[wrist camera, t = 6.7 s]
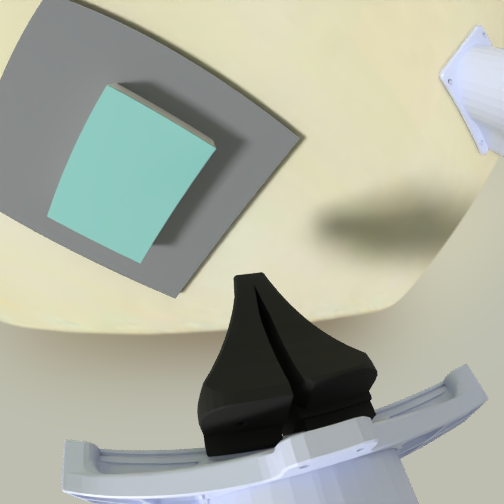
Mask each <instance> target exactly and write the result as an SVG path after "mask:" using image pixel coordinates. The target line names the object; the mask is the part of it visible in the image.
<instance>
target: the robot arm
mask: <svg viewBox="0 0 504 504" xmlns="http://www.w3.org/2000/svg"><path fill="white" fill-rule="evenodd" d="M440 79H441V81H442V83H443V84H444V86H445V88H446V89H447V91H448V92H449V94H450V96H451V98H452V99H453V101H454V103H455V104H456V106H457V108H458V110H459V112H460V113H461V115H462V117H463V119H464V121H465V123H466V125H467V127H468V129H469V131H470V133H471V135H472V137H473V139H474V141H475V143H476V145H477V147H478V150H479V152H480V153H481V154H482V155H485V154H486V153H487V152H488V150H489V149H490V150H492V151H494V152H496V153H497V154H499V155H501V156H503V157H504V49H503V48H498V47H493V45H492V43H491V41H490V40H489V38H488V36H487V34H486V32H485V30H484V28H483V27H482V26H481V25H476V26H475V27H474V29H473V30H472V31H471V33H470V34H469V35H468V37H467V38H466V39H465V41H464V42H463V43H462V45H461V46H460V47H459V49H458V50H457V51H456V52H455V54H454V55H453V56H452V58H451V59H450V60H449V62H448V63H447V64H446V65H445V67H444V68H443V69H442V71H441V72H440ZM448 80H449V83H448ZM234 295H235V298H234V305H233V311H232V316H231V320H230V324H229V328H228V331H227V334H226V337H225V340H224V343H223V345H222V348H221V350H220V353H219V355H218V357H217V359H216V361H215V363H214V365H213V367H212V369H211V371H210V373H209V374H208V376H207V378H206V379H205V381H204V383H203V386H202V389H201V393H200V397H199V401H198V420H199V425H200V427H201V430H202V432H203V435H204V441H205V448H195V449H180V450H148V451H147V450H146V451H145V450H143V451H142V450H135V451H134V450H109V449H99V448H98V447H97V446H96V445H95V444H93V443H90V442H86V441H75V440H65V441H64V453H63V468H62V491H63V492H65V493H67V494H70V495H72V496H75V497H77V498H80V499H82V500H85V501H88V502H90V503H97V504H419V503H418V501H417V498H416V496H415V493H414V491H413V488H412V486H411V484H410V481H409V479H408V476H407V474H406V472H405V469H404V467H403V465H402V463H401V460H400V459H401V458H402V457H404V456H406V455H408V454H410V453H412V452H414V451H416V450H418V449H419V448H421V447H423V446H425V445H427V444H428V443H430V442H432V441H433V440H435V439H437V438H438V437H440V436H442V435H443V434H445V433H447V432H448V431H450V430H452V429H453V428H455V427H456V426H458V425H460V424H461V423H463V422H464V421H465V420H467V418H469V417H470V416H471V415H472V414H473V413H474V412H475V411H476V410H478V409H479V408H480V407H481V406H482V405H483V404H484V403H485V402H486V401H487V400H488V397H487V395H486V393H485V392H484V390H483V388H482V387H481V385H480V384H479V382H478V381H477V379H476V377H475V376H474V374H473V373H472V371H471V370H470V368H469V367H468V365H467V364H465V365H463V366H461V367H459V368H457V369H455V370H453V371H451V372H450V373H449V374H448V375H447V376H446V377H445V379H444V381H442V382H440V383H438V384H436V385H434V386H432V387H430V388H428V389H425V390H424V391H421V392H419V393H416V394H414V395H412V396H409V397H407V398H405V399H403V400H400V401H397V402H395V403H392V404H390V405H387V406H384V407H382V408H379V409H376V410H374V408H373V406H372V404H371V402H370V400H371V395H370V392H369V390H370V388H371V386H372V385H373V383H374V381H375V380H376V377H377V370H376V369H375V367H374V365H373V363H372V361H371V360H370V358H369V357H368V356H367V354H366V353H364V352H362V351H359V350H357V349H354V348H352V347H350V346H347V345H345V344H344V343H342V342H340V341H338V340H336V339H334V338H333V337H331V336H330V335H328V334H326V333H325V332H323V331H322V330H320V329H319V328H317V327H316V326H314V325H313V324H312V323H311V322H309V321H308V320H307V319H306V318H304V317H303V316H302V315H301V314H300V313H299V312H298V311H297V310H296V309H294V308H293V307H292V306H291V305H290V304H289V303H288V302H287V301H286V299H285V298H284V297H283V296H282V295H281V294H280V293H279V292H278V291H277V290H276V288H275V287H274V286H273V285H272V284H271V282H270V281H269V280H268V278H267V277H266V276H265V274H264V273H262V272H261V273H253V274H244V275H236V276H235V277H234ZM282 434H283V436H282Z"/></svg>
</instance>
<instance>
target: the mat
mask: <svg viewBox="0 0 504 504" xmlns="http://www.w3.org/2000/svg"><path fill="white" fill-rule="evenodd" d="M115 83H117V84H119V85H121V86H123V87H125V88H126V89H128V90H130V91H132V92H134V93H136V94H137V95H139V96H141V97H143V98H144V99H146V100H148V101H150V102H151V103H153V104H155V105H157V106H158V107H160V108H162V109H164V110H165V111H167V112H169V113H170V114H172V115H174V116H175V117H177V118H179V119H180V120H182V121H184V122H185V123H187V124H189V125H190V126H192V127H193V128H195V129H197V130H198V131H200V132H201V133H203V134H205V135H206V136H208V137H209V138H211V139H213V141H214V144H215V147H216V150H215V151H214V152H213V154H212V155H211V157H210V158H209V159H208V161H207V162H206V163H205V165H204V166H203V168H202V169H201V171H200V172H199V173H198V175H197V176H196V178H195V179H194V181H193V182H192V183H191V185H190V186H189V188H188V189H187V191H186V192H185V194H184V195H183V197H182V198H181V200H180V201H179V203H178V204H177V206H176V207H175V209H174V210H173V212H172V213H171V215H170V216H169V218H168V220H167V221H166V223H165V224H164V226H163V227H162V229H161V231H160V232H159V234H158V235H157V237H156V239H155V240H154V242H153V243H152V245H151V247H150V248H149V250H148V252H147V253H146V255H145V257H144V258H143V260H142V262H141V263H138V262H136V261H134V260H132V259H130V258H128V257H126V256H124V255H121V254H119V253H117V252H115V251H113V250H111V249H109V248H107V247H105V246H103V245H101V244H99V243H97V242H95V241H93V240H91V239H89V238H87V237H85V236H83V235H81V234H79V233H77V232H75V231H74V230H72V229H70V228H68V227H66V226H64V225H62V224H60V223H58V222H56V221H55V220H53V219H51V218H49V217H47V215H48V212H49V209H50V206H51V203H52V200H53V198H54V195H55V192H56V189H57V187H58V184H59V182H60V179H61V177H62V174H63V172H64V169H65V167H66V164H67V162H68V160H69V158H70V155H71V153H72V151H73V149H74V146H75V144H76V142H77V140H78V138H79V136H80V134H81V132H82V130H83V128H84V126H85V124H86V122H87V120H88V118H89V116H90V114H91V112H92V110H93V109H94V107H95V105H96V103H97V101H98V100H99V98H100V96H101V94H102V93H103V91H104V89H105V87H106V86H107V85H110V84H115ZM299 139H300V138H299V137H298V136H297V135H295V134H294V133H293V132H292V131H290V130H289V129H288V128H286V127H285V126H284V125H283V124H281V123H280V122H279V121H277V120H276V119H275V118H274V117H272V116H271V115H270V114H268V113H267V112H266V111H264V110H263V109H262V108H260V107H259V106H257V105H256V104H255V103H253V102H252V101H251V100H249V99H248V98H246V97H245V96H244V95H242V94H241V93H239V92H238V91H236V90H235V89H233V88H232V87H231V86H229V85H228V84H226V83H225V82H223V81H222V80H220V79H219V78H217V77H216V76H214V75H212V74H211V73H209V72H208V71H206V70H205V69H203V68H201V67H200V66H198V65H197V64H195V63H193V62H192V61H190V60H189V59H187V58H185V57H184V56H182V55H180V54H178V53H177V52H175V51H173V50H172V49H170V48H168V47H166V46H165V45H163V44H161V43H159V42H157V41H156V40H154V39H152V38H150V37H148V36H146V35H144V34H142V33H140V32H139V31H137V30H135V29H133V28H131V27H129V26H127V25H125V24H123V23H121V22H118V21H116V20H114V19H112V18H110V17H108V16H106V15H103V14H101V13H99V12H97V11H94V10H92V9H90V8H87V7H85V6H82V5H80V4H77V3H75V2H72V1H70V0H43V1H42V2H41V4H40V5H39V7H38V8H37V10H36V11H35V13H34V15H33V16H32V18H31V20H30V21H29V23H28V25H27V27H26V28H25V30H24V32H23V34H22V36H21V37H20V39H19V41H18V43H17V45H16V47H15V49H14V51H13V53H12V55H11V57H10V59H9V61H8V64H7V66H6V68H5V70H4V73H3V75H2V77H1V80H0V212H2V213H4V214H5V215H7V216H9V217H10V218H12V219H14V220H16V221H17V222H19V223H21V224H23V225H25V226H26V227H28V228H30V229H32V230H34V231H35V232H37V233H39V234H41V235H43V236H45V237H47V238H48V239H50V240H52V241H54V242H56V243H58V244H60V245H62V246H64V247H66V248H68V249H70V250H72V251H73V252H75V253H77V254H79V255H81V256H83V257H86V258H88V259H90V260H92V261H94V262H96V263H98V264H100V265H102V266H104V267H106V268H108V269H110V270H113V271H115V272H117V273H119V274H121V275H123V276H125V277H128V278H130V279H132V280H134V281H136V282H139V283H141V284H143V285H145V286H148V287H150V288H152V289H155V290H157V291H159V292H161V293H164V294H166V295H168V296H171V297H173V298H176V297H177V296H178V294H179V293H180V291H181V290H182V289H183V287H184V286H185V285H186V283H187V282H188V281H189V279H190V278H191V277H192V275H193V274H194V273H195V271H196V270H197V269H198V267H199V266H200V265H201V263H202V262H203V261H204V259H205V258H206V257H207V255H208V254H209V253H210V252H211V250H212V249H213V248H214V246H215V245H216V244H217V242H218V241H219V240H220V238H221V237H222V236H223V235H224V233H225V232H226V231H227V229H228V228H229V227H230V226H231V224H232V223H233V222H234V220H235V219H236V218H237V217H238V215H239V214H240V213H241V211H242V210H243V209H244V208H245V206H246V205H247V204H248V203H249V201H250V200H251V199H252V197H253V196H254V195H255V194H256V192H257V191H258V190H259V189H260V187H261V186H262V185H263V184H264V182H265V181H266V180H267V179H268V177H269V176H270V175H271V174H272V172H273V171H274V170H275V169H276V167H277V166H278V165H279V164H280V163H281V161H282V160H283V159H284V158H285V156H286V155H287V154H288V153H289V152H290V150H291V149H292V148H293V147H294V145H295V144H296V143H297V142H298V141H299Z"/></svg>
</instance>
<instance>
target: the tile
mask: <svg viewBox="0 0 504 504" xmlns="http://www.w3.org/2000/svg"><path fill="white" fill-rule="evenodd" d="M215 150H216V147H215V144H214V141H213V139H211V138H209V137H208V136H206V135H205V134H203V133H201V132H200V131H198V130H197V129H195V128H193V127H192V126H190V125H189V124H187V123H185V122H184V121H182V120H180V119H179V118H177V117H175V116H174V115H172V114H170V113H169V112H167V111H165V110H164V109H162V108H160V107H158V106H157V105H155V104H153V103H151V102H150V101H148V100H146V99H144V98H143V97H141V96H139V95H137V94H136V93H134V92H132V91H130V90H128V89H126V88H125V87H123V86H121V85H119V84H117V83H115V84H110V85H107V86H106V87H105V89H104V91H103V93H102V94H101V96H100V98H99V100H98V101H97V103H96V105H95V107H94V109H93V110H92V112H91V114H90V116H89V118H88V120H87V122H86V124H85V126H84V128H83V130H82V132H81V134H80V136H79V138H78V140H77V142H76V144H75V146H74V149H73V151H72V153H71V155H70V158H69V160H68V162H67V164H66V167H65V169H64V172H63V174H62V177H61V179H60V182H59V184H58V187H57V189H56V192H55V195H54V198H53V200H52V203H51V206H50V209H49V212H48V215H47V217H49V218H51V219H53V220H55V221H56V222H58V223H60V224H62V225H64V226H66V227H68V228H70V229H72V230H74V231H75V232H77V233H79V234H81V235H83V236H85V237H87V238H89V239H91V240H93V241H95V242H97V243H99V244H101V245H103V246H105V247H107V248H109V249H111V250H113V251H115V252H117V253H119V254H121V255H124V256H126V257H128V258H130V259H132V260H134V261H136V262H138V263H141V262H142V260H143V258H144V257H145V255H146V253H147V252H148V250H149V248H150V247H151V245H152V243H153V242H154V240H155V239H156V237H157V235H158V234H159V232H160V231H161V229H162V227H163V226H164V224H165V223H166V221H167V220H168V218H169V216H170V215H171V213H172V212H173V210H174V209H175V207H176V206H177V204H178V203H179V201H180V200H181V198H182V197H183V195H184V194H185V192H186V191H187V189H188V188H189V186H190V185H191V183H192V182H193V181H194V179H195V178H196V176H197V175H198V173H199V172H200V171H201V169H202V168H203V166H204V165H205V163H206V162H207V161H208V159H209V158H210V157H211V155H212V154H213V152H214V151H215Z"/></svg>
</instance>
